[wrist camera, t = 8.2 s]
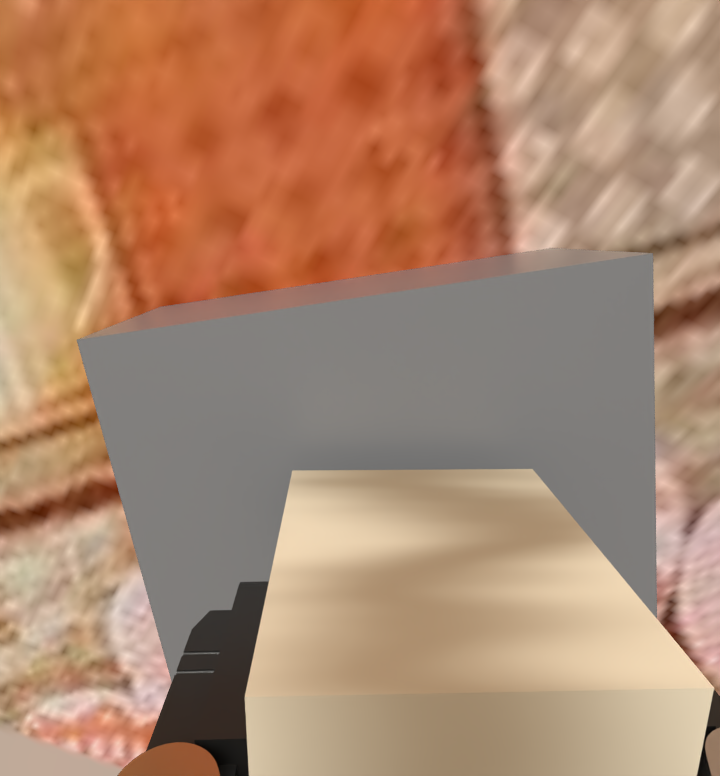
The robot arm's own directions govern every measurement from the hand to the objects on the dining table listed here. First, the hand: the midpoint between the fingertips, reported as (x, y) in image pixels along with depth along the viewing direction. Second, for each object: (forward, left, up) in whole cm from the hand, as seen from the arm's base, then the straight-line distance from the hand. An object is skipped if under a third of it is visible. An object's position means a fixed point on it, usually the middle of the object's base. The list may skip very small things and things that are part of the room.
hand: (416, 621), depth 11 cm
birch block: (0, 0, -2) cm, 2 cm away
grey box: (0, 0, -8) cm, 8 cm away
